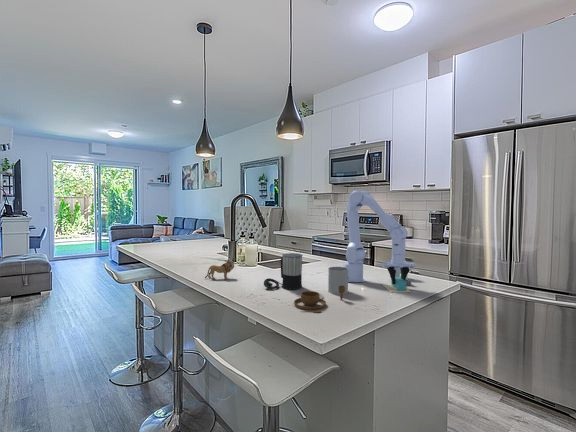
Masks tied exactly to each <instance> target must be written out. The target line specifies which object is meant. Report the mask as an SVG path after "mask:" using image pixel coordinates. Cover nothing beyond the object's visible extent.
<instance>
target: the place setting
mask: <svg viewBox="0 0 576 432" xmlns="http://www.w3.org/2000/svg"><path fill="white" fill-rule="evenodd" d="M344 292H345V286H339V293H341V294H340V296H339V298H340V299H339V300H340V301H343V300H344V296H343V295H344V294H343V293H344ZM300 303H302V304H304V305H301V304H300ZM319 303H320V304H321V305H317V304H319ZM293 304H294V306H295V307H296V308H297V309H301V311H300V313H313V314H315V313H316V314H317V313H321V312H322V310H321V309H324V308H325V307H326V305H327V301H326V300H325V297H321V298H320V293H319V292H317V291H312V290H308V291H307V290H305V291H301V292H300V297H299V298H296V299H294V301H293ZM316 305H317V306H316ZM304 310H306V311H304Z"/></svg>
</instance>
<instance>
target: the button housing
mask: <svg viewBox="0 0 576 432" xmlns="http://www.w3.org/2000/svg"><path fill="white" fill-rule="evenodd" d="M406 286H412V281H411V280H409V279H408V278H407V281H406Z"/></svg>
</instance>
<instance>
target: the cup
mask: <svg viewBox="0 0 576 432" xmlns="http://www.w3.org/2000/svg"><path fill="white" fill-rule="evenodd" d="M327 276H328V278H327V279H328V280H327V281H328V284H327V285H328V286H327V288H328V290H327V291H328V293H329V294H331V295H341V293H339V286H345V292H344V293H343V295H346V294H349V282H348V268H345V267H343V266H330V267H328V275H327Z"/></svg>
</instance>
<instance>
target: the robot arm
mask: <svg viewBox="0 0 576 432" xmlns="http://www.w3.org/2000/svg"><path fill="white" fill-rule="evenodd" d="M363 206H366V207H369V208H370V210H371V211H373V212H374V213H375V214H376V215H377V217H379V221H380V224H381V225H382V226H383V227H384V228H385V230H387V231H388V233H389V236H390V238H391V261H392V263H390V262H382V263H381V268H382V269H387V271H388V273H389V277H390V276H391V278H390V279H391V280H392V284H395V274H396V270H395V269H394V268H400V270H401V279H403V280H405V279H406V276H407V277H408V275H409V272H410V269H416V263H413V262H407V263H405V261H406V238H407V236H408V234H409V233H408V232H409V231H408V230H407V227H405V226H402V224H401V223H399V222H398V221H397V220H396V219H395V216H394V215H393V214H391V213H386V212H385V209H383V208H382V207H381V205H380V204H379V202H377V200H376V199H375V197H374V196H373V195H372V194H371V193H370V192H369V191H367V190H358V189H357V190H356V189H355V190H353V191H352V192H351V193H350V194H349V195H348V201H347V205H346V208H345V209H346V217H347V218H346V220H347V233H348V241H349V243H348V245H347V247H346V253H345V259H346V262H343V266H342V267H345V268H348V283H366V280H365V279H364V260H365V258H366V255H367V254H366V250H365V249H364V244H362V241H361V233H360V230H361V229H360V220H359V219H360V218H359V210H360V209H361V208H362V207H363ZM391 280H390V281H391Z"/></svg>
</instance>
